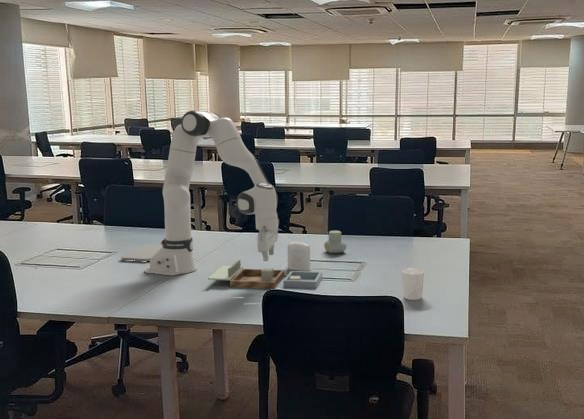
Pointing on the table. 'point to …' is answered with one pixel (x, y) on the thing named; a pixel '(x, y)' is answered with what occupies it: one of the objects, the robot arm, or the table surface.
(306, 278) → the bin
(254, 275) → the wooden tray
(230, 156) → the robot arm
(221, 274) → the lid
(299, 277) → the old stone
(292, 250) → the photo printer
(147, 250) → the tablet
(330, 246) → the air freshener
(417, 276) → the white cup
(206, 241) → the table surface
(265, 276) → the beige small block
